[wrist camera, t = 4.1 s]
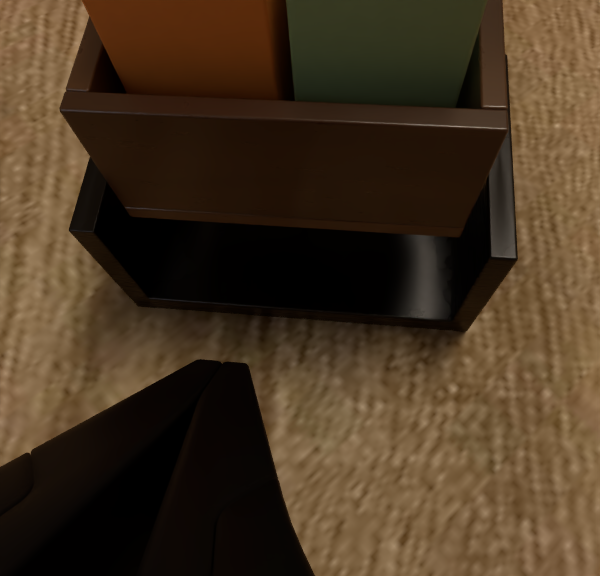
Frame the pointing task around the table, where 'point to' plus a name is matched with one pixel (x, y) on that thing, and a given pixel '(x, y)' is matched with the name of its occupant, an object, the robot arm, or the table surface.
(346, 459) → the table surface
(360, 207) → the bin
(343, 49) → the green carton
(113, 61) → the orange carton
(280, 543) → the robot arm
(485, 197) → the bin frame
